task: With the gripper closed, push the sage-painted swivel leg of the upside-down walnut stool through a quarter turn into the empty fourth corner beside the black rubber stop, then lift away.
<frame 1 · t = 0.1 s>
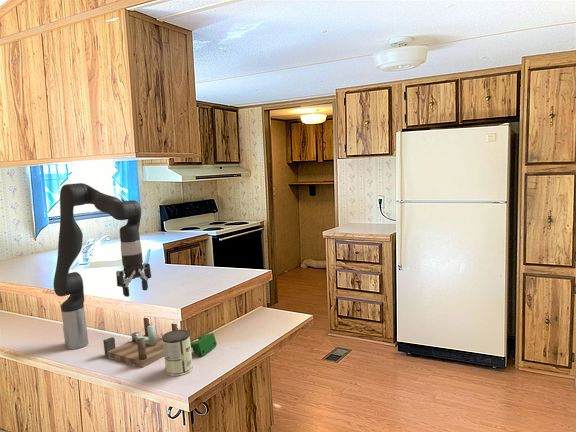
hand: (136, 293, 174), 29 cm above the table, fingers open, 8 cm apart
stool seat: (146, 351, 190), on the table
swing leg: (143, 333, 193), point 7 cm above the table, hinge at 0.0°
clamp: (202, 351, 187), on the table
coffee can: (179, 370, 171), on the table
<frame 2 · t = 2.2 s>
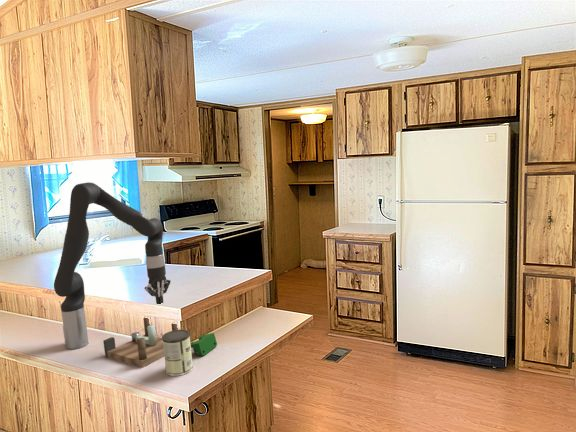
hand: (160, 304, 193), 19 cm above the table, fingers closed
nothing on the table moved.
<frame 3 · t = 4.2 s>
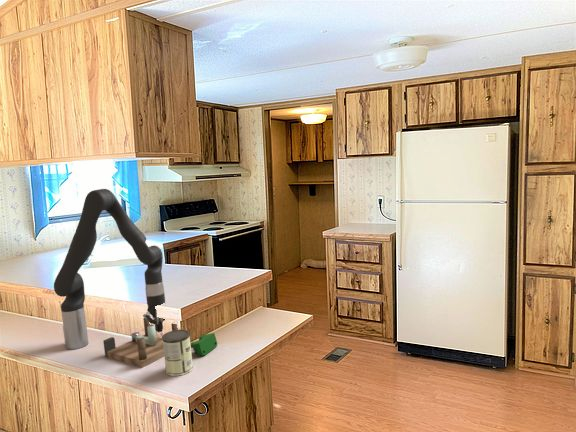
hand: (159, 331, 193), 7 cm above the table, fingers closed
swing leg: (143, 333, 192), point 7 cm above the table, hinge at 0.3°, touching gripper
everything else where it was.
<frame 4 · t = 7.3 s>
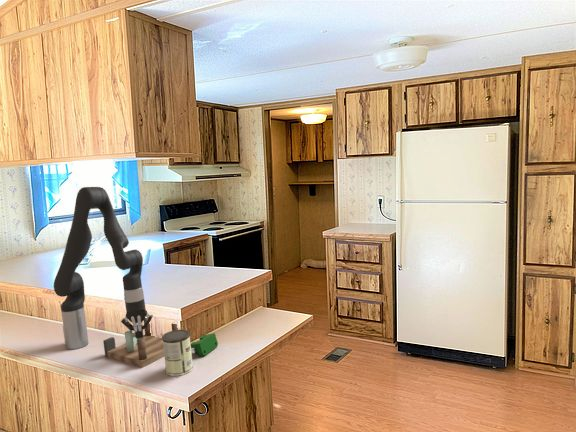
hand: (139, 339, 185), 7 cm above the table, fingers closed
swing leg: (132, 336, 190), point 7 cm above the table, hinge at 49.6°, touching gripper
everything else where it was.
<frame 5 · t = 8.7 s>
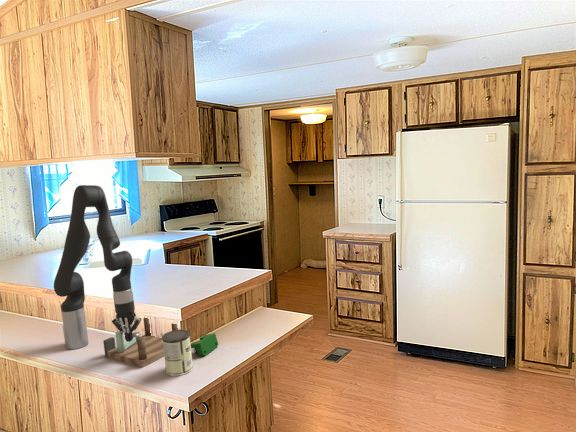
hand: (129, 340, 184), 7 cm above the table, fingers closed
swing leg: (127, 336, 190), point 7 cm above the table, hinge at 70.2°, touching gripper
everything else where it was.
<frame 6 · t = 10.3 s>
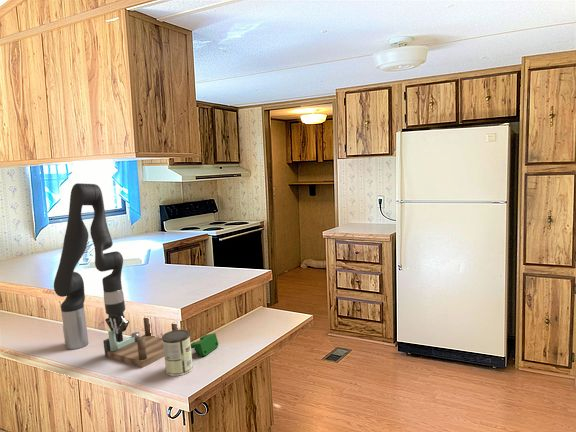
hand: (119, 341, 184), 7 cm above the table, fingers closed
swing leg: (124, 335, 191), point 7 cm above the table, hinge at 90.3°, touching gripper
everything else where it was.
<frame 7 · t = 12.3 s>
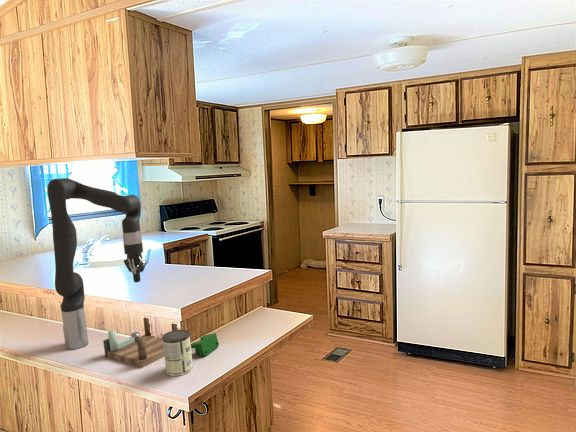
hand: (137, 281, 192), 29 cm above the table, fingers closed
swing leg: (124, 335, 191), point 7 cm above the table, hinge at 90.4°
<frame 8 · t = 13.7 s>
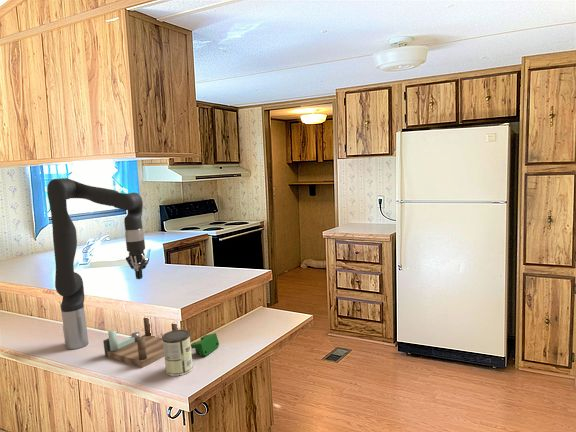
hand: (139, 278, 193), 30 cm above the table, fingers closed
at the end: swing leg at +90° (first picture: +0°) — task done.
